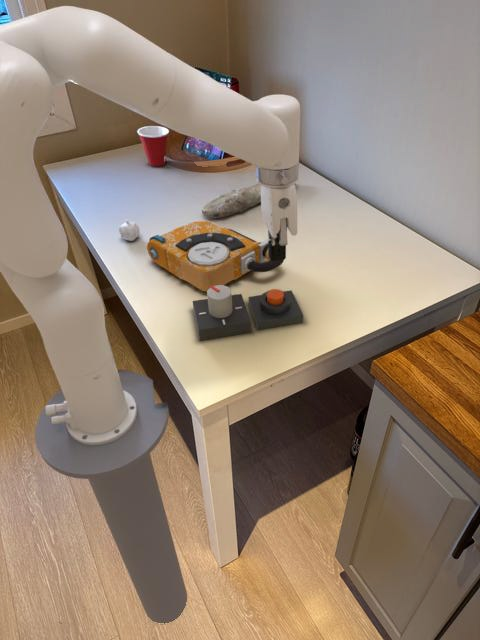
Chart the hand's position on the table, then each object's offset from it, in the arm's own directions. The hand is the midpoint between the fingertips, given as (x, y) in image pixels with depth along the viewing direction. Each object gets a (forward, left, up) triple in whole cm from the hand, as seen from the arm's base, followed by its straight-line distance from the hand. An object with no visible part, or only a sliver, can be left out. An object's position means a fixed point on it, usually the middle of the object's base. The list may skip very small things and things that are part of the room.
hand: (277, 258), depth 98 cm
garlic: (-31, +41, -14) cm, 54 cm away
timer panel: (-12, 0, -14) cm, 19 cm away
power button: (0, 0, -11) cm, 11 cm away
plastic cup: (-20, +92, -14) cm, 95 cm away
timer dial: (-12, 0, -11) cm, 17 cm away
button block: (0, 0, -14) cm, 14 cm away
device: (-10, +21, -14) cm, 28 cm away
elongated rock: (+6, +54, -14) cm, 57 cm away
